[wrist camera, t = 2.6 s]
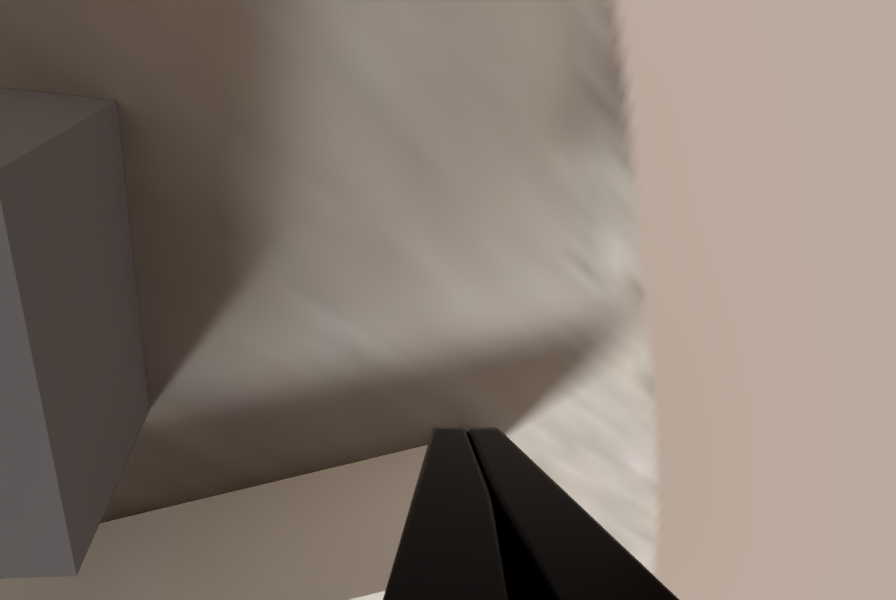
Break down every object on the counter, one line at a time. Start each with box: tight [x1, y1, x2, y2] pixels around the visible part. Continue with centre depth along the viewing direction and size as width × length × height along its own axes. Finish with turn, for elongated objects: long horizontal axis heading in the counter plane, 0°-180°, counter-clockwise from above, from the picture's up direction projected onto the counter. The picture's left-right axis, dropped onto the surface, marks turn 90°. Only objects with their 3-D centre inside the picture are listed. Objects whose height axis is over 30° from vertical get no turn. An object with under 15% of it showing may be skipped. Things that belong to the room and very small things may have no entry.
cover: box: [0, 445, 428, 600], centre depth 12 cm, size 14×1×4 cm, turn 100°
